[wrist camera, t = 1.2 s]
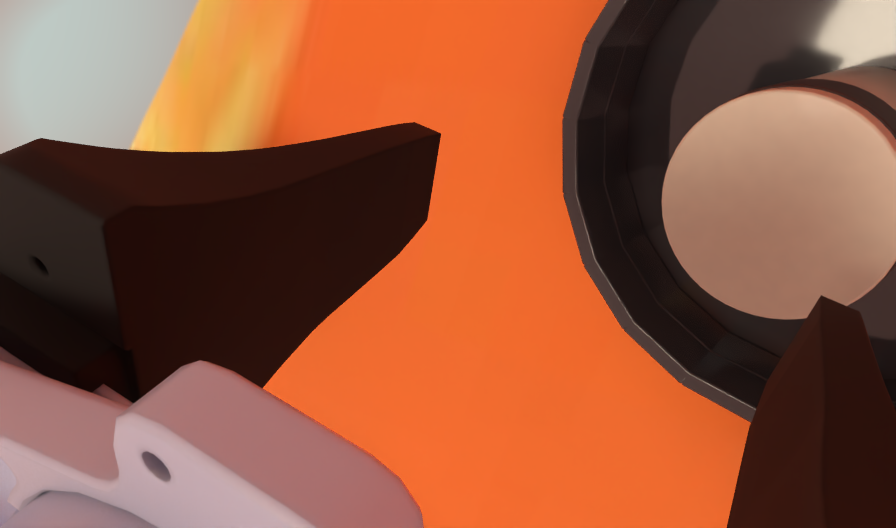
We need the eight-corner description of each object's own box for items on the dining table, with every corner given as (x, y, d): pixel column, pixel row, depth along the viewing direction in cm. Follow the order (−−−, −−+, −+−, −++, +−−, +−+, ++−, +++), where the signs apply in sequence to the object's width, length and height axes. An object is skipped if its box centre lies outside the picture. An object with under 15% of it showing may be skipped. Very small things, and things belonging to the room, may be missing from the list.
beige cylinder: (1002, 135, 18) (982, 196, 12) (862, 264, 20) (787, 368, 14) (846, 29, 19) (757, 35, 13) (734, 162, 22) (617, 218, 16)
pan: (1447, 87, 14) (1558, 108, 11) (881, 476, 22) (855, 549, 19) (831, -248, 18) (790, -300, 15) (548, 179, 26) (485, 200, 23)
